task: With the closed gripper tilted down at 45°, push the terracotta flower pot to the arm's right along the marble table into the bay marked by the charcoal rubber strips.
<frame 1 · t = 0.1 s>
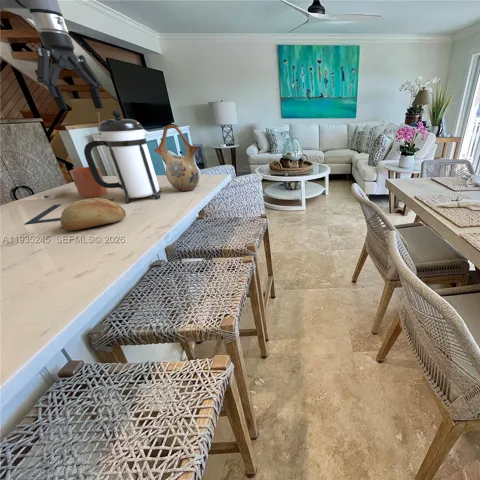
hand: (82, 108, 93), 30 cm above the counter, tool pointing down, fingers open, 13 cm apart
coffee press: (140, 198, 100), on the counter
terracotta flower pot: (94, 194, 105), on the counter
bread roll: (98, 226, 78), on the counter
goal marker: (75, 209, 90), on the counter
ceramic vessel: (186, 190, 110), on the counter
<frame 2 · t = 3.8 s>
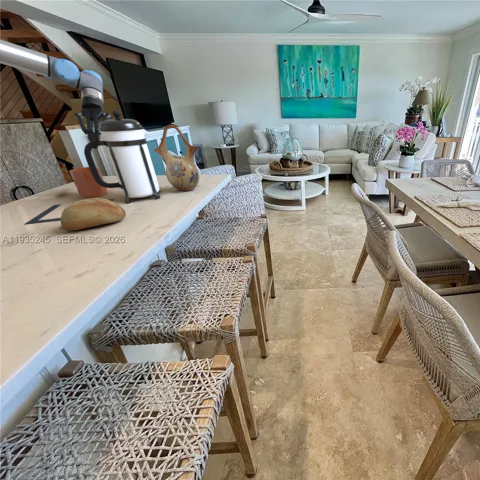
hand: (94, 146, 112), 16 cm above the counter, tool tilted 45°, fingers closed
nothing on the counter moved.
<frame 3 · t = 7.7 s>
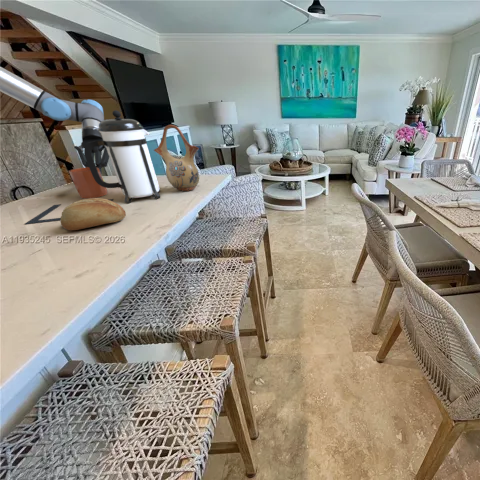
hand: (95, 181, 107), 4 cm above the counter, tool tilted 45°, fingers closed
terracotta flower pot: (94, 195, 104), on the counter, touching gripper
everything else where it was.
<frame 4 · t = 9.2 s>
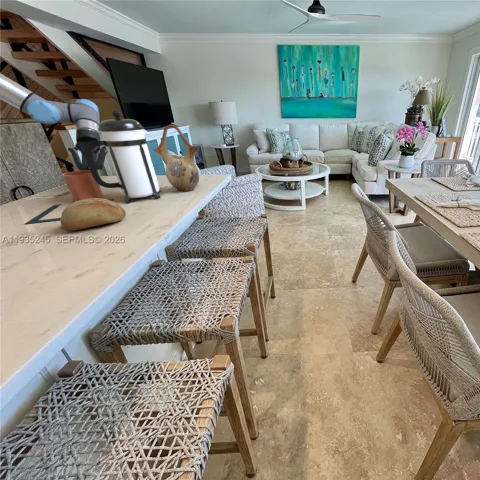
hand: (90, 184, 102), 4 cm above the counter, tool tilted 45°, fingers closed
terracotta flower pot: (89, 199, 99), on the counter, touching gripper
everything else where it was.
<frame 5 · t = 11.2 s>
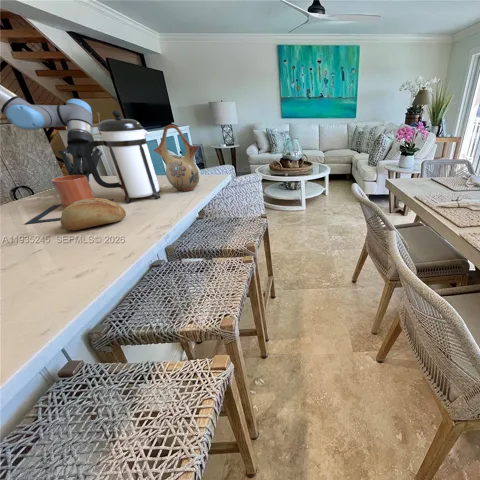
hand: (82, 190, 95), 4 cm above the counter, tool tilted 45°, fingers closed
terracotta flower pot: (81, 206, 93), on the counter, touching gripper
everything else where it was.
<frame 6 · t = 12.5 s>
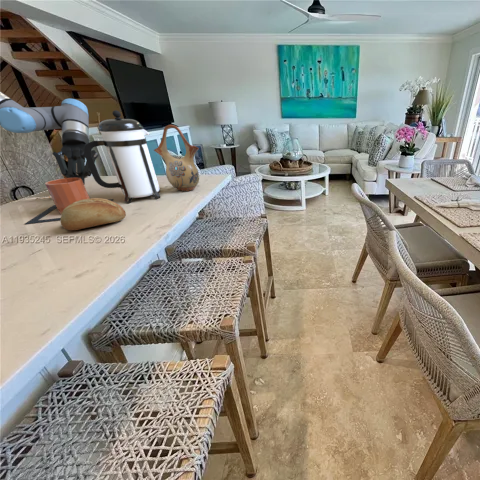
hand: (77, 193, 92), 4 cm above the counter, tool tilted 45°, fingers closed
terracotta flower pot: (77, 210, 89), on the counter, touching gripper
everything else where it was.
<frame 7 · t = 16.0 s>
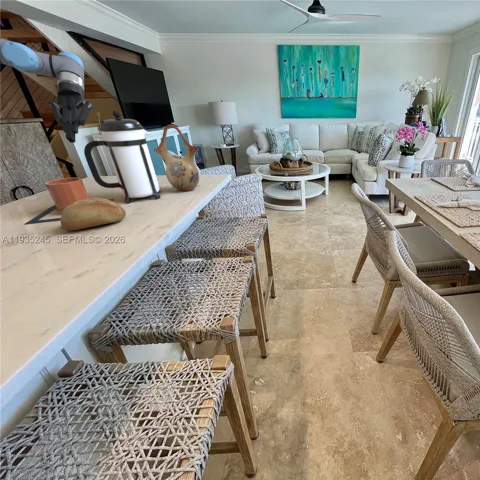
hand: (70, 140, 95), 21 cm above the counter, tool tilted 45°, fingers closed
terracotta flower pot: (77, 210, 89), on the counter
everything else where it was.
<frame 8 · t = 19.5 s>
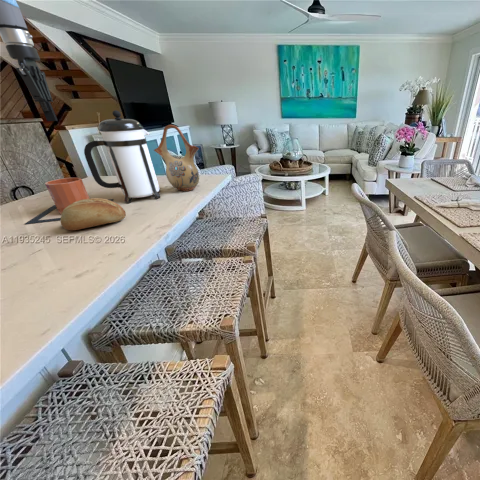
hand: (52, 120, 102), 26 cm above the counter, tool pointing down, fingers closed
nothing on the counter moved.
at the end: terracotta flower pot inside the target area (1.1 cm from its centre), on the counter; terracotta flower pot tilted 0°; terracotta flower pot moved 18.9 cm from its start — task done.
